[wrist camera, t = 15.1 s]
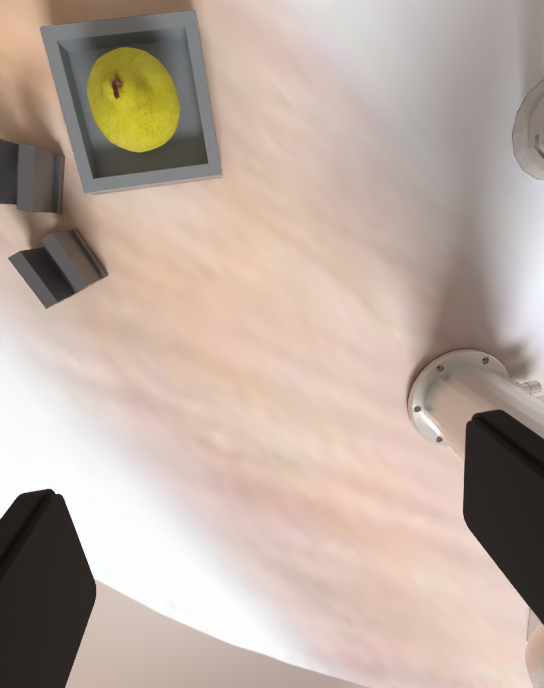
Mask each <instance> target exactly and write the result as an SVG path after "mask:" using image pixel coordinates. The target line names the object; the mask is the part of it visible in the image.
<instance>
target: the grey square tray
mask: <svg viewBox="0 0 544 688" xmlns="http://www.w3.org/2000/svg"><path fill="white" fill-rule="evenodd" d="M40 30H41V34H42V38H43V42H44V45H45V49H46V53H47V56H48V60H49V64H50V67H51V71H52V75H53V79H54V82H55V86H56V90H57V93H58V97H59V101H60V104H61V108H62V112H63V115H64V119H65V123H66V127H67V130H68V134H69V138H70V141H71V145H72V149H73V152H74V156H75V160H76V164H77V167H78V171H79V175H80V178H81V182H82V186H83V189H84V193H88V194H94V195H97V194H105V193H112V192H120V191H127V190H135V189H142V188H149V187H157V186H164V185H172V184H179V183H186V182H194V181H201V180H209V179H216V178H222V172H221V166H220V159H219V153H218V147H217V141H216V135H215V128H214V122H213V116H212V110H211V104H210V97H209V91H208V85H207V79H206V73H205V66H204V60H203V54H202V48H201V42H200V35H199V29H198V23H197V17H196V11H195V10H189V11H180V12H171V13H161V14H152V15H143V16H134V17H125V18H115V19H106V20H97V21H88V22H79V23H69V24H60V25H51V26H42V27H40ZM122 47H129V48H136V49H139V50H143V51H146V52H147V53H149V54H150V55H152V56H153V57H155V58H156V59H158V60H159V61H160V63H161V64H162V65H163V66H164V67H165V68H166V70H167V71H168V73H169V74H170V76H171V77H172V80H173V82H174V85H175V88H176V91H177V94H178V98H179V102H180V117H179V121H178V126H177V129H176V131H175V133H174V135H173V136H172V137H171V139H170V140H168V141H167V142H166V143H165V144H163V145H161V146H160V147H158V148H155V149H152V150H150V151H145V152H133V151H129V150H126V149H123V148H121V147H118V146H117V145H115V144H113V143H111V142H110V141H109V140H108V139H107V138H106V137H105V136H104V134H103V133H102V131H101V130H100V128H99V127H98V125H97V123H96V121H95V119H94V117H93V114H92V111H91V108H90V104H89V100H88V95H87V83H88V78H89V75H90V72H91V69H92V67H93V66H94V64H95V62H96V61H97V60H98V59H99V58H100V57H101V56H102V55H104V54H106V53H108V52H110V51H112V50H115V49H118V48H122Z"/></svg>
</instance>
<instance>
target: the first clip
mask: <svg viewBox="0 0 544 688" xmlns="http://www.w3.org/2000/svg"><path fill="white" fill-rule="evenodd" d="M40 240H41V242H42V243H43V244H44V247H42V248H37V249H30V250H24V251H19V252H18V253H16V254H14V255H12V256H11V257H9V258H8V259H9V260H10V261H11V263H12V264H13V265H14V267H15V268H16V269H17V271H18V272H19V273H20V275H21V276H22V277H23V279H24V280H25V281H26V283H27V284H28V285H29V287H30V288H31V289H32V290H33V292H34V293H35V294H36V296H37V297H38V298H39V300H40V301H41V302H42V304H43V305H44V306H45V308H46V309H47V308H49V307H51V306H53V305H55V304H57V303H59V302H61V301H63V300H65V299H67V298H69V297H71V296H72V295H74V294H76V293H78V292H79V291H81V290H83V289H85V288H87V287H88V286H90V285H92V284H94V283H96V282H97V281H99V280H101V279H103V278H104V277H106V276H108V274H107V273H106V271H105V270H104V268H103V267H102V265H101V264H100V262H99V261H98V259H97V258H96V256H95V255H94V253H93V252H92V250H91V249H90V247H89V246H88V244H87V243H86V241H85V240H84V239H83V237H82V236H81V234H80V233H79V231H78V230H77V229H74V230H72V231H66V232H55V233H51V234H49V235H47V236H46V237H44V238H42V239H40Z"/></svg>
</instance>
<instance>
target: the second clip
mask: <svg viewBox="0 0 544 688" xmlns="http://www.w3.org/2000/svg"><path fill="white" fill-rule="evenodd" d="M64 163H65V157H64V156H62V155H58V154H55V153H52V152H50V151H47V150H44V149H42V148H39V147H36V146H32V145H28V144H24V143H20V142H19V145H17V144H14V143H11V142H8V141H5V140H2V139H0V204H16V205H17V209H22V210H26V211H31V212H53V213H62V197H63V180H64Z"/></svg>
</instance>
